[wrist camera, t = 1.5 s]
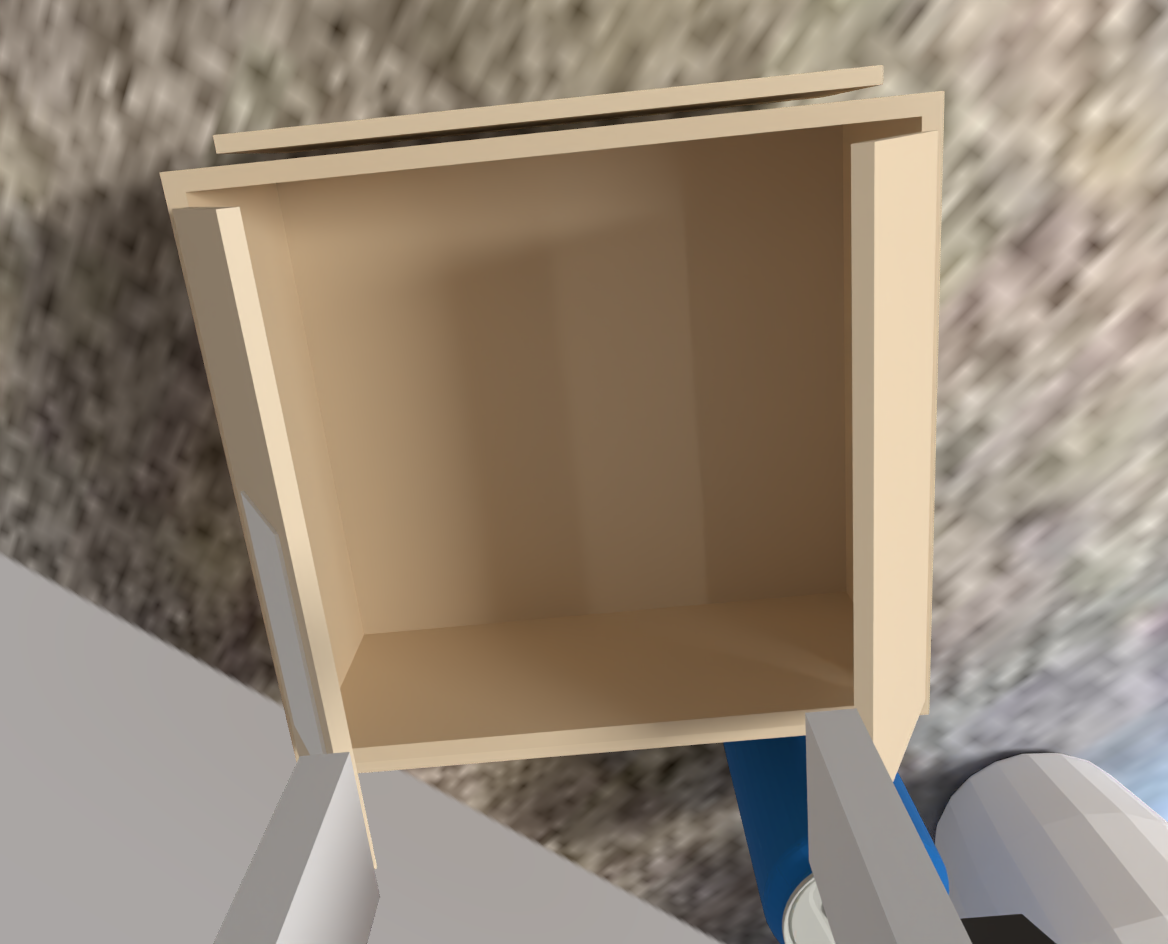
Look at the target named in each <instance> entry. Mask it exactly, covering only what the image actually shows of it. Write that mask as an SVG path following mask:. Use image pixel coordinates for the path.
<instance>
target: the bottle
mask: <svg viewBox="0 0 1168 944" xmlns="http://www.w3.org/2000/svg"><path fill="white" fill-rule="evenodd" d="M935 846H936V848H937V850H938V852H939V854H940V856H941V858H942V860H943V863H944V865H945V867H946V871H947V875H948V880H949V897H950V899H951V901H952V903H953V905H954V907H955V909H956V911H957V914H958V916H959V918H960V919H962V918H974V917H987V916H1000V915H1012V914H1023V915H1024V916H1025V917H1026V918H1027V919H1028V920H1030V921H1031V922H1032V923H1033V924H1034V925H1035V926H1037V927H1038V928H1039V929H1040V930H1041V931H1042V932H1043V933H1045V934H1046V935H1047V936H1048V937H1049V938H1050V939H1051V940H1053V941H1054V942H1055V943H1056V944H1168V822H1167V821H1166V820H1165V819H1163V818H1162V817H1161V816H1160V815H1158V814H1157V813H1156V812H1155V811H1154V810H1152V809H1151V808H1150V807H1149V806H1148V805H1146V804H1145V803H1144V802H1143V801H1142V800H1140V799H1139V798H1138V797H1137V796H1135V795H1134V794H1133V793H1132V792H1131V791H1129V790H1128V789H1127V788H1126V787H1125V786H1123V785H1122V784H1121V783H1120V782H1119V781H1117V780H1116V779H1115V778H1114V777H1112V776H1111V775H1110V774H1108V773H1107V772H1105V771H1104V770H1102V769H1100V768H1099V767H1097V766H1096V765H1094V764H1093V763H1091V762H1090V761H1088V760H1084V759H1080V758H1076V757H1072V756H1068V755H1064V754H1060V753H1030V754H1020V755H1016V756H1013V757H1010V758H1006V759H1003V760H999V761H996V762H994V763H992V764H990V765H989V766H987V767H985V768H984V769H982V770H980V771H978V772H977V773H975V774H973V775H972V776H970V777H969V778H968V779H967V780H966V781H965V782H964V783H963V784H962V785H961V787H960V788H959V789H958V790H957V791H956V792H955V793H954V794H953V795H952V796H951V798H950V800H949V802H948V804H947V806H946V808H945V810H944V812H943V814H942V816H941V818H940V820H939V822H938V824H937V828H936V837H935Z"/></svg>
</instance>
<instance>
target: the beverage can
mask: <svg viewBox="0 0 1168 944" xmlns="http://www.w3.org/2000/svg"><path fill="white" fill-rule="evenodd" d="M723 743H724V748H725V753H726V757H727V761H728V765H729V769H730V773H731V777H732V782H733V786H734V790H735V794H736V798H737V802H738V807H739V811H740V815H741V819H742V823H743V827H744V832H745V836H746V840H747V844H748V848H749V852H750V856H751V861H752V865H753V869H754V873H755V877H756V881H757V886H758V890H759V894H760V898H761V902H762V906H763V910H764V914H765V918H766V921H767V923H768V925H769V927H770V929H771V931H772V933H773V934H774V936H775V937H776V939H777V940H778V941H779V942H780V944H835V941H834V938H833V935H832V932H831V928H830V925H829V922H828V919H827V916H826V913H825V910H824V907H823V903H822V900H821V897H820V894H819V891H818V888H817V885H816V882H815V879H814V875H813V872H812V869H811V866H810V863H809V843H808V804H807V764H806V735H803V736H791V737H779V738H767V739H756V740H744V741H732V742H723ZM893 784H894V786H895V788H896V790H897V792H898V794H899V796H900V798H901V800H902V802H903V804H904V806H905V808H906V810H907V812H908V814H909V816H910V818H911V820H912V822H913V824H914V826H915V828H916V830H917V832H918V834H919V836H920V838H921V840H922V842H923V844H924V847H925V849H926V851H927V853H928V855H929V857H930V859H931V861H932V863H933V865H934V867H935V869H936V871H937V873H938V875H939V877H940V879H941V881H942V883H943V885H944V887H945V889H946V891H947V893H948V895H949V880H948V875H947V871H946V867H945V865H944V863H943V860H942V858H941V856H940V854H939V852H938V850H937V848H936V846H935V844H934V842H933V840H932V838H931V836H930V835H929V833H928V831H927V829H926V827H925V825H924V823H923V821H922V819H921V817H920V815H919V813H918V811H917V809H916V807H915V805H914V803H913V801H912V799H911V797H910V795H909V793H908V791H907V789H906V787H905V785H904V783H903V781H902V780H901V778H900V776H899V774H898V772H897V774H896V776H895V779H894V781H893Z"/></svg>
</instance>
